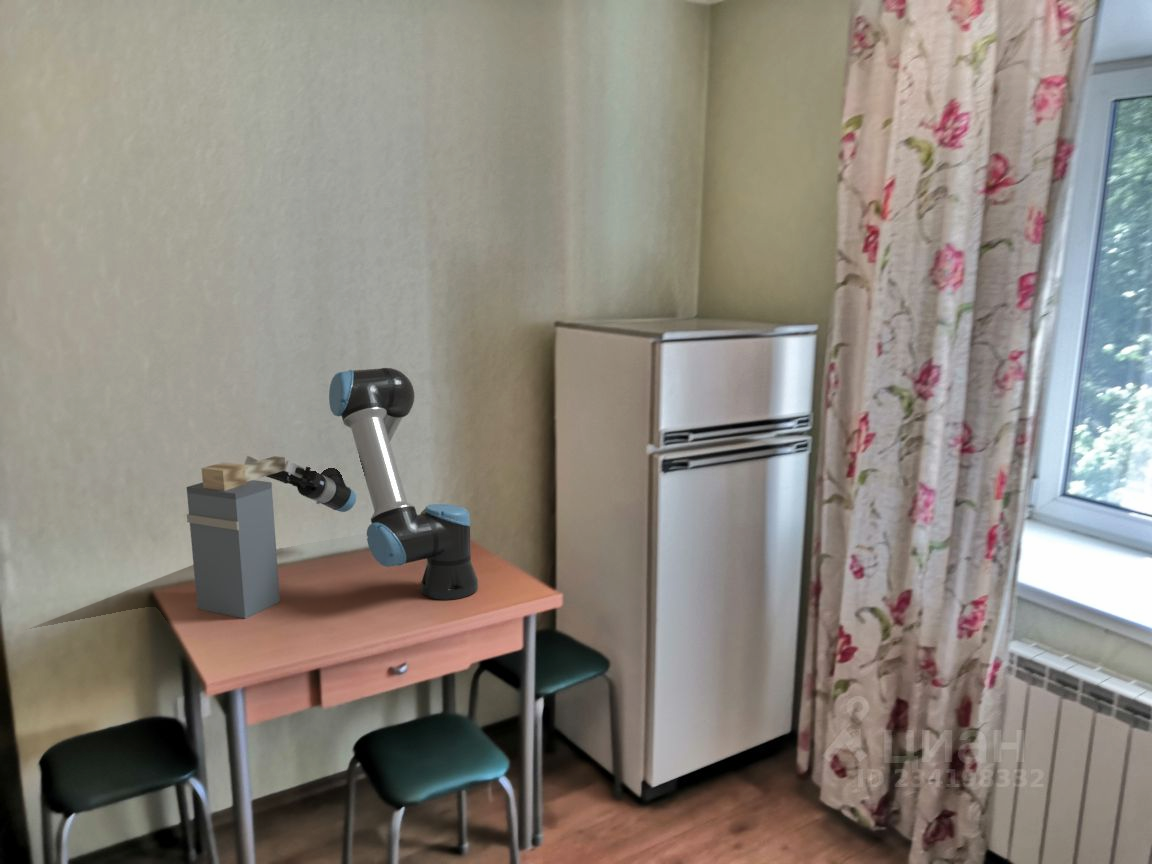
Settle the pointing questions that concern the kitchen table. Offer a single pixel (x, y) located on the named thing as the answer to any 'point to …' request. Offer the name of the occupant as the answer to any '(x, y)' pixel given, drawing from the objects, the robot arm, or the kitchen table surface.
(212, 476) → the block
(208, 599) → the lidded box
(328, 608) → the kitchen table surface
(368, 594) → the kitchen table surface
